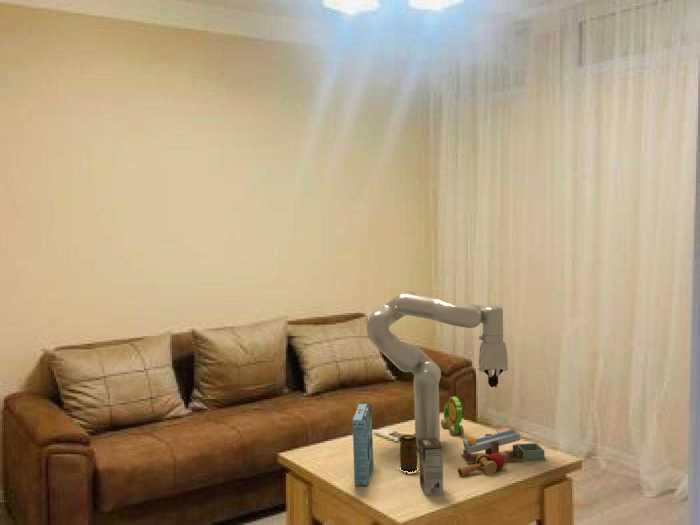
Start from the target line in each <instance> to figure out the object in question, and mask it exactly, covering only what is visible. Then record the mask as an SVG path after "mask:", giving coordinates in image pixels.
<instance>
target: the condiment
mask: <svg viewBox="0 0 700 525" xmlns="http://www.w3.org/2000/svg"><path fill="white" fill-rule="evenodd" d="M400 439H401V440H400V445H399V446H400V448H399V452H400V453H399V456H400V460H399V461H400V462H399V463H400V464H399V466H400V467H401V470H403V471H408V472H412V471H413V472H414V471H415V470H417V467H418V451H417V444H416V437H415V436H414V435H413V434H403V435H402V436H401V437H400ZM418 468H419V470H418V471H420V467H418ZM403 471H401V472H402V473H403V474H405V475H408V473H407V472H406V473H404V472H403ZM418 471H417V473H416V474H419V473H418Z"/></svg>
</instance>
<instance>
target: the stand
mask: <svg viewBox="0 0 700 525" xmlns="http://www.w3.org/2000/svg"><path fill="white" fill-rule="evenodd" d="M489 435H493V434H492V433H485V436H489ZM485 436H484V437H485ZM484 451H485V452H475V453H471V454H468V453H467V451H466V450H465V449H462V453H461V458H462V459H463V460H464V462H465V463H466V465H467V466H470V465H474V464H476V458H477V457H478V456H479V455H481V454H483V455H485V456H487V458H488V456H489V455H490V454H492V453H499V454H501V455H502V456H503V458H504V461H505V463H518V462H519V463H520V462H525V461H524V460H523V458H522V457H521V449H520V448H519V446H518V445H516V444H512V450H511V451H500V446H499V442H498V441H492V448H490V449H486V450H484Z"/></svg>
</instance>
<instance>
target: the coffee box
mask: <svg viewBox="0 0 700 525" xmlns="http://www.w3.org/2000/svg"><path fill="white" fill-rule="evenodd" d="M443 449H444V447H442V445H441V444H440V442H439V441H438V439H437V438H421V439H419V451H418V452H419V454H418V455H419V458H418V459H419V460H418V461H419V468H420V473H419V486H420V487H421V489H422V492H423V494H424V495H425V496H432V495H433V496H435V495H434V494H437V495H443V494H444V464H443V462H444V459H443V458H444V453H443V452H444V450H443Z"/></svg>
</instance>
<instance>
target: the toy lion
mask: <svg viewBox="0 0 700 525" xmlns="http://www.w3.org/2000/svg"><path fill="white" fill-rule="evenodd" d="M462 420H463V407H462V404H461V402H460V400H459V398H458V397H457V396H451V397H449V399H448V401H447V403H445V404H444V407H443V418H441V420H440V424H441V425H440V426H441V428H442V429H446V428H447V427H449V428H448V432H449V435H450V436H455V434H456V435H457V434H458V435H464V433H465V432H464V430H465V429H464V426H463V425H461V423H462Z"/></svg>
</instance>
